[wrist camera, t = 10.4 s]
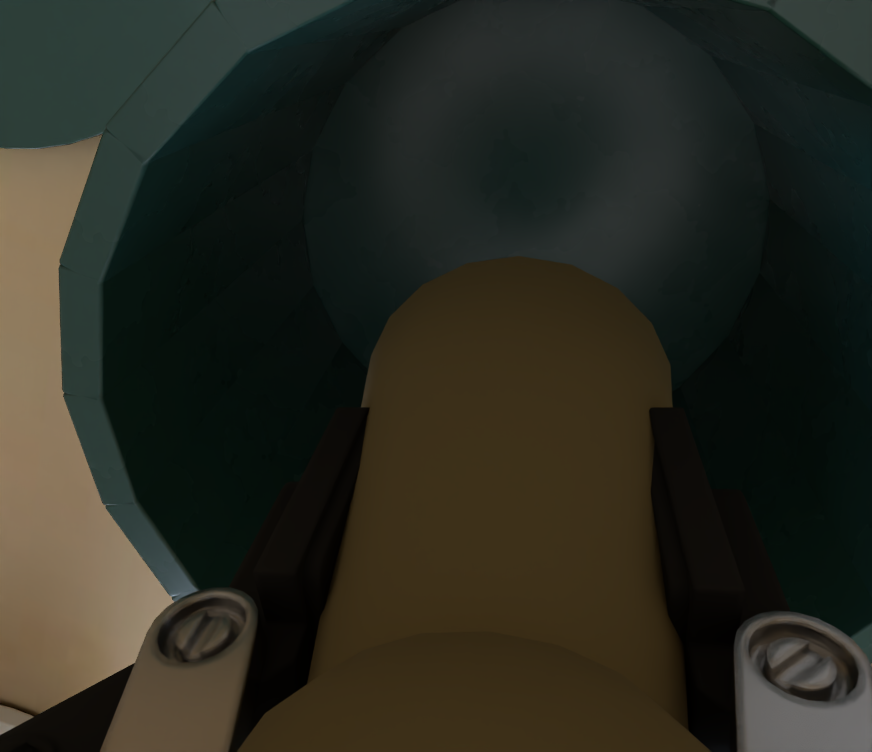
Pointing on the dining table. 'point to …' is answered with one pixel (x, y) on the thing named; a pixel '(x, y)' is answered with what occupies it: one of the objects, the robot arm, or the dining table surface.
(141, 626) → the dining table surface
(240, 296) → the tin
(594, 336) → the olive brown pawn
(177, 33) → the tin lid
